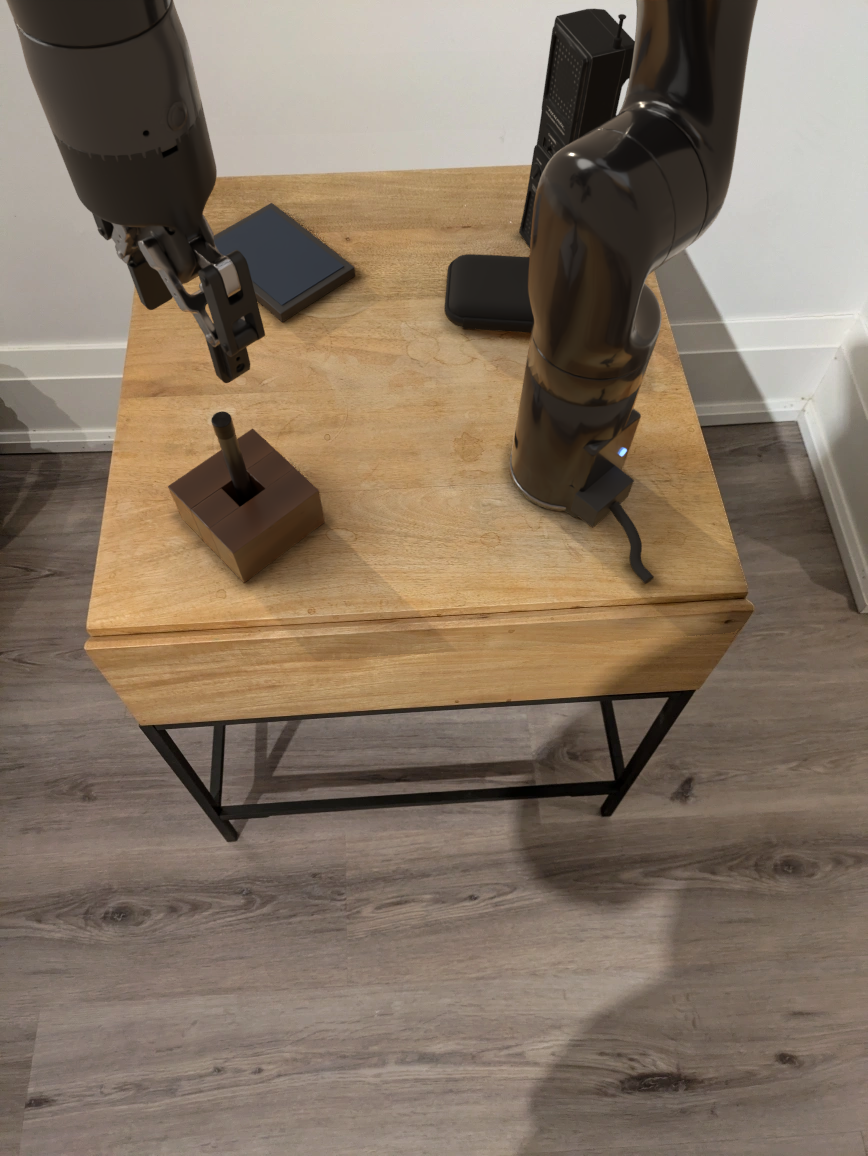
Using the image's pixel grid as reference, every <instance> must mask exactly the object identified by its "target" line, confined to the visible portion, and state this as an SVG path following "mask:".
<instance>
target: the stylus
mask: <svg viewBox="0 0 868 1156" xmlns="http://www.w3.org/2000/svg"><path fill="white" fill-rule="evenodd" d="M233 421H234V420H233V418H232V416H231V414H230V412H229V413H228V411H222V410H221V411H217V412H215V413H214V414H213V415H212V416H211V420H210V422H211V425H212V428H213V431H214V434H215V436H216V438H217V441H218V444H219V447H220V450H222V453H223V456H224V459H225V462H226V465H227V468H228V471H229V474H230V477H231V480H232V483H233V486H234V489H235V492H236V495H237V498H238V501H239V504H240V507H241V506H242V505H244V504H245V503H246V502H248V501H249V500H251V499H252V498H253V497H255V496H254V493H253V489H252V486H251V483H250V480H249V476H248V473H247V470H246V466H245V463H244V460H243V456H242V453H241V450H240V446H239V443H238V440H237V439H238V437H237V434H236V427H235V425H234V422H233Z"/></svg>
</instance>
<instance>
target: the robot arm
mask: <svg viewBox="0 0 868 1156" xmlns="http://www.w3.org/2000/svg"><path fill="white" fill-rule="evenodd" d="M5 1H6V3H7V6H8V8H9V11H10V13H11V16H12V18H13V22H14V24H15V28H16V32H17V34H18V37H19V42H20V45H21V50H22V54H23V58H24V62H25V64H26V65H25V66H26V69H27V71H28V74H29V78H30V80H31V83H32V85H33V87H34V90H35V93H36V95H37V98H38V101H39V103H40V105H41V108H42V110H43V112H44V115H45V118H46V120H47V123H48V126H49V128H50V131H51V133H52V136H53V138H54V140H55V143H56V145H57V148H58V150H59V153H60V155H61V158H62V160H63V162H64V166H65V168H66V170H67V173H68V176H69V178H70V180H71V183H72V186H73V188H74V190H75V193H76V196H77V197H78V200H79V201H80V203H81V204H82V205H83V206H84V208H86V209H87V210H88V211H89V212H90V213H91V214H92V216H93V220H94V222H95V226H96V228H97V231H98V233H99V235H100V236H101V237H103V239H104V240H106V241H109V240H112V241H113V242H114V244H115V245H114V249H115V252H116V255H117V257H118V258H119V259H120V260H121V261H122V262H123V263H124V264H126V266H127V268H128V271H129V274H130V277H131V279H132V282H133V284H134V288H135V291H136V293H137V296H138V298H139V302H140V303H141V305H143V306H144V307H145V308H146V309H147V310H148V311H154V310H156V309H157V308H159V307H161V306H163V305H165V304H166V303H168V302H169V301H171V300H172V299H173V300H174V301H175V303H176V305H177V306H178V308H179V310H180V311H181V312H184V313H190V314H191V315H192V316H193V317H194V319H195V321H196V323H197V325H198V327H199V329H200V330H201V332H202V333H203V335H204V338H205V342H206V345H207V348H208V352H209V355H210V359H211V362H212V366H213V368H214V372H215V375H216V377H217V378H218V379H219V380H221V382H222V383H224V384H229V383H231V382H233V381H234V380H236V379H238V378H239V377H241V376H242V375H244V374H246V373H247V372H249V371H250V370H251V360H250V357H249V351H248V348H247V347H249V346H250V345H252V344H254V343H255V342H257V341H260V340H262V339H263V338H264V337H266V332H265V327H264V323H263V320H262V316H261V311H260V308H259V302H258V301H257V299H256V295H255V291H254V287H253V283H252V279H251V275H250V271H249V267H248V263H247V261H246V259H245V257H244V256H243V255H242V253H241V252H240V251H238V250H235V251H233V252H231V253H229V254H228V255H226V256H224V255H222V254H221V253H220V252H219V251H218V249H217V247H216V245H215V243H214V235H215V234H214V231H213V229H212V228H211V225H210V223H209V222H208V220H207V218H206V216H205V215H204V210H205V207H206V206H207V203H208V200H209V198H210V197H211V194H212V193H213V190H214V188H215V185H216V182H217V174H218V172H217V164H216V159H215V155H214V151H213V146H212V142H211V137H210V133H209V129H208V124H207V120H206V119H207V118H206V115H205V111H204V107H203V102H202V97H201V94H200V88H199V84H198V80H197V75H196V71H195V66H194V63H193V57H192V53H191V49H190V46H189V42H188V38H187V35H186V32H185V30H184V27H183V25H182V22H181V19H180V16H179V14H178V11H177V7H176V5H175V2H174V0H5ZM758 2H759V0H636V19H635V20H636V22H635V35H634V41H635V43H634V51H633V59H632V66H631V72H630V77H629V79H628V83H627V87H626V92H625V96H624V99H623V102H622V105H621V108H620V109H619V112H618V113H617V114H616V116H614V117H613V118H611V119H609V120H608V121H606V122H604V123H603V124H601V125H599V126H598V127H596V128H594V129H593V130H591V131H589V132H588V133H586V134H585V135H583V136H581V137H579V138H578V139H576V140H575V141H573V142H571V143H570V144H568V145H567V146H565V147H563V148H562V149H560V150H559V151H558V152H557V153H556V154H554V156H553V157H552V158H551V159H550V160H549V162H548V163H547V165H546V167H545V169H544V171H543V173H542V175H541V178H540V181H539V184H538V188H537V192H536V196H535V202H534V208H533V218H532V230H531V243H530V248H529V256H528V257H529V269H528V296H529V301H530V306H531V309H532V313H533V324H532V331H531V333H530V337H529V338H530V339H529V344H528V350H527V355H526V362H525V369H524V373H523V374H524V375H523V381H522V388H521V392H520V393H521V394H520V400H519V406H518V412H517V418H515V419H514V420H515V421H516V422H515V424H514V426H513V431H514V434H513V435H512V436H513V437H512V441H513V442H512V447H511V452H510V455H509V456H510V457H509V463H508V467H509V468H508V470H509V475H510V478H511V481H512V483H513V485H514V486H515V488H516V489H517V491H518V492H519V493H520V494H521V496H523V497H524V498H525V499H526V500H527V501H529V502H531V503H533V504H534V505H536V506H538V507H541V508H544V509H547V510H550V511H557V512H565V513H567V514H569V515H570V516H571V517H572V518H577V517H578V518H580V519H581V520H582V521H583V522H584V523H586V524H587V525H588V527H590V528H592V529H593V528H594V527H596V526H598V524H599V523H600V522H601V521H602V520H604V519H605V518H606V517H607V516H608V515H609V514H612V515H613V517H614V518H615V519H616V521H617V522H618V523H619V525H620V526H621V528H622V529H623V531H624V532H625V534H626V537H627V539H628V542H629V547H630V548H629V563H630V566H631V568H632V570H633V572H634V573H635V575H636V576H637V577H638V578H639V579H640V580H641V581H642V582H643V583H644V585H645V584H648V583H650V582H651V581H652V580H653V579H654V578H655V577H654V575H653V574H652V573H651V571H649V570H648V568H646V567H645V565H644V564H643V561H642V549H643V544H642V539H641V536H640V534H639V532H638V529H637V527H636V526H635V523H634V522H633V520H632V519H631V517H630V516H629V515H628V513H627V512H626V511H625V509H624V508H623V506H622V503H623V502H624V501H625V500H626V499H627V498H629V495H630V493H631V490H632V487H633V484H634V482H635V479H633V477H632V476H630V475H629V474H627V473H626V472H625V471H623V468H624V466H625V463H626V460H627V458H628V454H629V452H630V449H631V446H632V443H633V440H634V437H635V435H636V432H637V429H638V426H639V423H640V421H641V418H642V414H641V412H639V411H638V410H637V409H635V405H636V402H637V398H638V395H639V393H640V389H641V387H642V384H643V381H644V378H645V375H646V374H647V373H646V372H647V369H648V366H649V363H650V360H651V357H652V356H653V355H652V354H653V352H654V350H655V347H656V344H657V341H658V338H659V335H660V332H661V327H662V309H661V305H660V302H659V299H658V298H657V296H656V294H655V292H654V291H653V290H652V289H651V288H650V286H648V284H646V281H647V279H648V277H649V276H650V274H651V273H653V272H654V271H656V270H657V269H659V268H660V267H661V266H663V265H664V264H666V263H667V262H668V261H670V260H672V259H673V258H675V257H676V256H677V255H679V254H680V253H681V252H683V251H684V250H686V249H687V248H688V247H690V246H692V245H693V244H694V243H696V242H697V241H698V240H699V239H700V238H701V237H702V236H703V235H704V234H705V233H706V232H707V231H708V230H709V228H710V227H711V226H712V225H713V224H714V222H715V221H716V219H717V218H718V216H719V215H720V213H721V210H722V208H723V207H724V204H725V201H726V198H727V195H728V192H729V188H730V183H731V179H732V173H733V169H734V164H735V156H736V149H737V142H738V134H739V125H740V117H741V111H742V102H743V94H744V86H745V79H746V70H747V65H748V57H749V50H750V44H751V37H752V33H753V26H754V21H755V16H756V11H757V6H758ZM196 278H199V281H200V282H199V285H198V288H199V289H198V290H197V291H195V292H193V293H191V294H190V293H189V292H188V291H187V290H186V288H185V286H184V285H185V284H187V283H189V282H192V281H194V280H195V279H196ZM206 307H208V310H209V313H210V315H209V313H208V312H207V309H206ZM210 316H211V317H210Z"/></svg>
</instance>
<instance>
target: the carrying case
mask: <svg viewBox="0 0 868 1156" xmlns="http://www.w3.org/2000/svg"><path fill="white" fill-rule="evenodd" d="M528 269H529V256H517V255H497V254H495V255H494V254H473V253H470V254H469V253H468V254H461V255H459V256H457V257H456V258H455V259H453V260H452V261H451V262H450V263H449V264H448V266H447V271H446V272H447V274H446V284H445V285H446V286H445V297H444V308H443V309H444V315H445V316H446V318H447V319H448V321H449V322H450V323H452V324H454V325H455V326H457V327H459V328H462V329H463V330H478V331H492V332H493V331H494V332H508V333H526V334H531V331H532V324H533V313H532V309H531V306H530V301H529V296H528Z"/></svg>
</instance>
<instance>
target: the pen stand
mask: <svg viewBox="0 0 868 1156" xmlns="http://www.w3.org/2000/svg"><path fill="white" fill-rule="evenodd" d="M237 440H238V443H239V446H240V450H241V453H242V456H243V460H244V463H245V466H246V470H247V473H248V476H249V480H250V483H251V486H252V489H253V493H254V496H255V497H253V498H252V499H251V500H249V501H248V502H246V503H245V504H244V505H242V506H241V507H240V504H239V501H238V498H237V495H236V492H235V489H234V486H233V483H232V480H231V477H230V474H229V471H228V468H227V465H226V462H225V459H224V456H223V453H222V450H221V449H220V450H219V451H217V452H215V453H214V454H213V455H212V456H209V457H208V458H207V459H205V460H204V461H202V462H201V463H200V464H198V465H197V466H195V467H193V468H192V469H190V470H189V471H188V472H186V473H185V474H184V475H182V476H180V477H179V478H178V479H176V480H174V481H173V482H172V483H170V484H168V485H167V489H168V490H169V493H170V495H171V497H172V500H173V502H174V504H175V506H176V508H177V510H178V512H179V515H180V518H181V519H182V520H183V522H184V523H186V524H187V526H189V528H190V529H192V531H193V532H194V533H195V534H196V535H197V536H198V537H199V538H200V539H201V540H202V541H203V542H204V543H205V544H206V545H207V546H208V547H209V548H210V549H211V550H212V551H213V552H214V554H215V555H216V556H218V558H219V559H221V560H222V562H223V563H224V564H225V565H226V566H227V568H229V569H230V570H231V571H232V572H233V573H234V574H235V576H237V577H238V579H240V581H241V582H243V583H244V584H245V583H246V582H247V581H250V579H252V578H253V577H254V576H256V575H258V573H260V572H261V571H262V570H264V569H265V568H266V567H268V566H269V565H270V564H272V563H273V562H274V561H276V560H277V559H278V558H279V557H281V556H282V555H283V554H285V553H286V552H288V551H289V550H290V549H291V548H293V547H294V546H296V545H297V544H298V543H299V542H301V541H302V540H303V539H305V538H306V537H308V536H309V535H310V534H311V533H313V532H314V531H315V530H316V529H318V528H319V527H320V526H322V525H323V524H325V523H326V522H325V516H324V510H323V505H322V499H321V493H320V490H319V489H318V488H317V486H315V485H314V484H313V483H312V481H310V480H309V479H307V477H305V475H303V473H301V472H300V471H299V470H298V469H297V468H296V467H295V466H294V465H293V464H292V463H290V461H288V460H287V459H286V458H285V457H284V456H283V455H282V454H281V453H280V452H279V451H278V450H277V449H275V447H273V446H272V445H271V444H270V443H269V441H267V440H266V439H265V438H263V436H262V435H260V434H259V432H257V431H256V430H255V429H254V428H251V429H250V430H248V431H247V432H245V433H244V434H242V435H241V436H239V437H237Z"/></svg>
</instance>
